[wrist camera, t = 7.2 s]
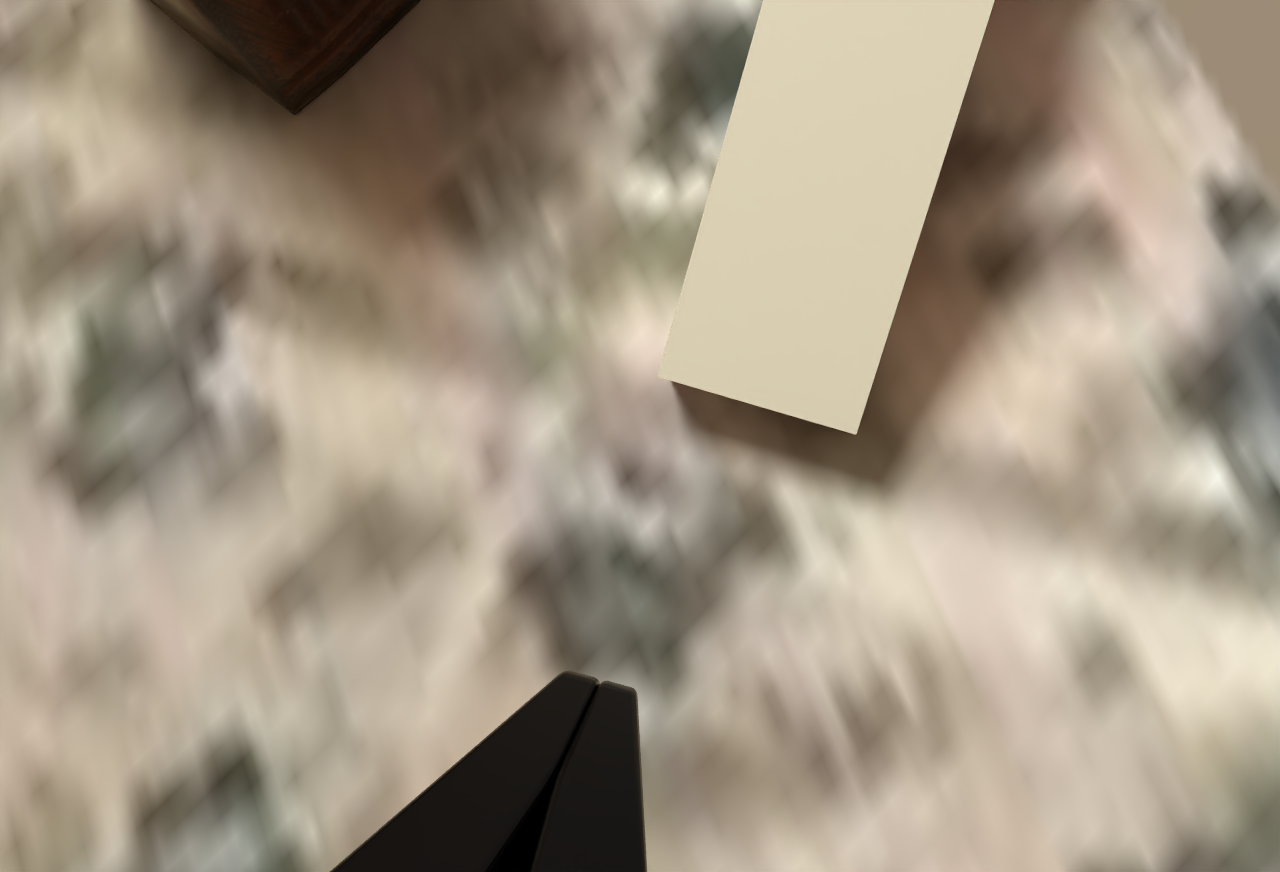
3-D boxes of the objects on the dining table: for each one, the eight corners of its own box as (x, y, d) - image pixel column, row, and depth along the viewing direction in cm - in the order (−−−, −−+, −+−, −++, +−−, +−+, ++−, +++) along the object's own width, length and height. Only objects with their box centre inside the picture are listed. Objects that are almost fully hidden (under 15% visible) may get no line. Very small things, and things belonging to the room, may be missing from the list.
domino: (856, 434, 18) (994, 0, 17) (657, 376, 19) (773, -37, 18) (853, 430, 19) (980, 32, 18) (669, 377, 20) (777, -3, 19)
